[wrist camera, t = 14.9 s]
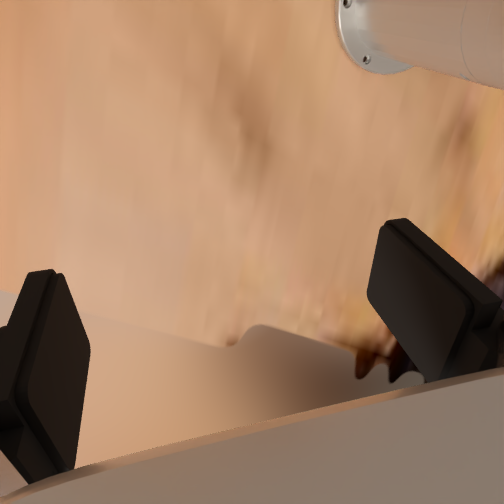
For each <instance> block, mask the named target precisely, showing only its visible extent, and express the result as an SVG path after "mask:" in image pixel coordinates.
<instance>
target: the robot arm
mask: <svg viewBox="0 0 504 504" xmlns="http://www.w3.org/2000/svg"><path fill="white" fill-rule="evenodd" d="M343 1H344V0H336V2H335V23H336V28H337V33H338V37H339V40H340V42H341V45H342V47H343V49H344V51H345V52H346V54H347V55H348V57H349V58H350V59H351V60H352V61H353V62H354V63H355V64H356V65H358V66H359V67H361V68H363V69H364V70H367V71H370V72H372V73H376V74H382V75H387V74H396V73H400V72H403V71H406V70H408V69H410V68H412V67H414V66H417V67H420V68H424V69H427V70H431V71H435V72H438V73H442V74H445V75H449V76H453V77H456V78H460V79H463V80H467V81H471V82H474V83H478V84H482V85H485V86H489V87H493V88H497V89H501V90H504V0H345V1H346V3H345V5H344V6H343ZM364 57H365V59H364V61H363V58H364ZM367 297H368V300H369V302H370V304H371V305H372V306H373V308H374V309H375V310H376V312H377V313H378V315H379V316H380V317H381V319H382V320H383V321H384V323H385V324H386V325H387V327H388V328H389V330H390V331H391V332H392V334H393V335H394V336H395V338H396V339H397V340H398V342H399V343H400V345H401V346H402V347H403V349H404V350H405V351H406V353H407V354H408V356H409V357H410V358H411V360H412V361H413V362H414V364H415V365H416V366H417V368H418V369H419V371H420V372H421V373H422V375H423V376H424V377H425V379H426V380H427V381H428V382H429V383H426V384H421V385H417V386H413V387H409V388H404V389H400V390H395V391H391V392H387V393H382V394H378V395H374V396H369V397H365V398H361V399H356V400H353V401H348V402H344V403H339V404H335V405H331V406H327V407H323V408H318V409H314V410H310V411H306V412H302V413H297V414H293V415H289V416H285V417H280V418H276V419H272V420H268V421H263V422H259V423H255V424H251V425H247V426H243V427H238V428H234V429H230V430H226V431H222V432H218V433H214V434H210V435H205V436H202V437H197V438H194V439H189V440H185V441H181V442H177V443H173V444H169V445H164V446H160V447H156V448H152V449H148V450H144V451H140V452H137V453H133V454H129V455H125V456H121V457H118V458H113V459H110V460H106V461H102V462H98V463H94V464H90V465H87V466H83V467H80V468H77V469H74V466H75V461H76V454H77V447H78V440H79V432H80V425H81V417H82V411H83V403H84V396H85V389H86V382H87V375H88V368H89V361H90V343H89V340H88V337H87V335H86V332H85V329H84V327H83V324H82V322H81V319H80V316H79V314H78V311H77V308H76V306H75V303H74V301H73V298H72V295H71V293H70V290H69V287H68V285H67V282H66V280H65V277H64V275H63V274H62V273H58V274H56V272H55V271H54V270H53V269H48V270H41V271H35V272H29V273H28V274H27V276H26V279H25V281H24V284H23V286H22V289H21V291H20V294H19V296H18V299H17V301H16V304H15V306H14V309H13V311H12V314H11V316H10V319H9V321H8V324H7V326H3V327H1V328H0V504H504V310H503V309H502V308H500V305H501V303H502V301H503V300H502V299H500V298H499V297H498V296H497V295H496V294H495V293H493V292H492V291H491V290H490V289H489V288H488V287H486V286H485V285H484V284H483V283H482V282H481V281H479V280H478V279H477V278H476V277H475V276H474V275H472V274H471V273H470V272H469V271H468V270H467V269H465V268H464V267H463V266H462V265H461V264H460V263H458V262H457V261H456V260H455V259H454V258H453V257H451V256H450V255H449V254H448V253H447V252H446V251H444V250H443V249H442V248H441V247H440V246H439V245H437V244H436V243H435V242H434V241H433V240H432V239H431V238H429V237H428V236H427V235H426V234H425V233H424V232H422V231H421V230H420V229H419V228H418V227H417V226H415V225H414V224H413V223H412V222H411V221H410V220H408V219H407V218H401V219H394V220H388V221H386V222H385V224H384V226H381V228H380V230H379V235H378V240H377V244H376V249H375V254H374V259H373V264H372V269H371V273H370V278H369V283H368V288H367Z"/></svg>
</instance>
